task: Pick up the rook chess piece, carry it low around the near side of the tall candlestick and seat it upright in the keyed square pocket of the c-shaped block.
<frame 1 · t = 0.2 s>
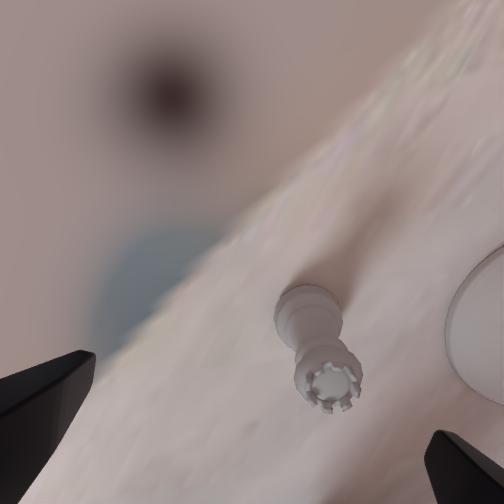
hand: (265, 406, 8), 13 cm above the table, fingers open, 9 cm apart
rook chess piece: (305, 311, 22), on the table
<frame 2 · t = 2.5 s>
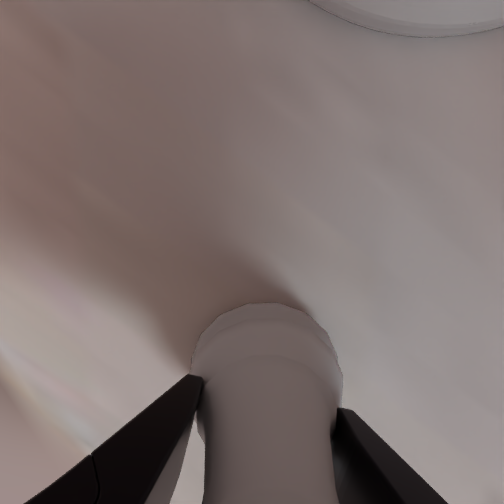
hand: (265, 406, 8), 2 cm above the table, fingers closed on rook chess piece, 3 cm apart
rook chess piece: (263, 358, 10), on the table, touching gripper
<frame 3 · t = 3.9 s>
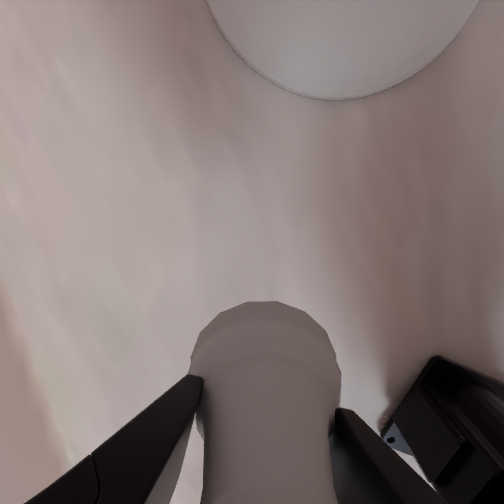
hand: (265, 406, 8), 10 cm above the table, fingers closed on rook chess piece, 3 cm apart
rook chess piece: (262, 356, 11), point 7 cm above the table, touching gripper
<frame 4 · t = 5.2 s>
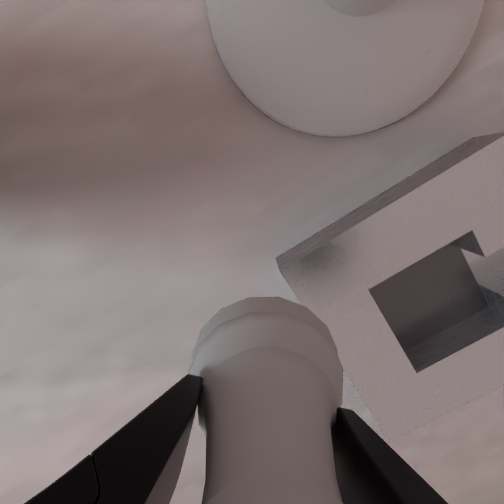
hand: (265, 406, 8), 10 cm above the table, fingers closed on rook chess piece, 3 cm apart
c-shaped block: (418, 288, 19), on the table
rook chess piece: (264, 352, 11), point 8 cm above the table, touching gripper
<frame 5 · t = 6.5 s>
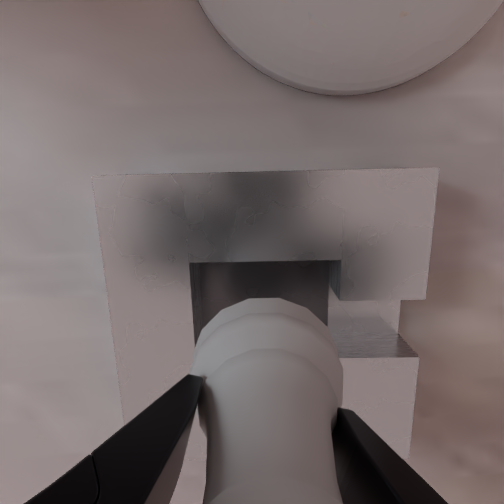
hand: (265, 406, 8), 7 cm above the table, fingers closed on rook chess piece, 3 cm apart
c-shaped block: (264, 306, 15), on the table
rook chess piece: (264, 353, 11), point 4 cm above the table, touching gripper
when the fingers open (3 cm above the table, at t = 7.7 s): rook chess piece stays where it is, resting on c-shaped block.
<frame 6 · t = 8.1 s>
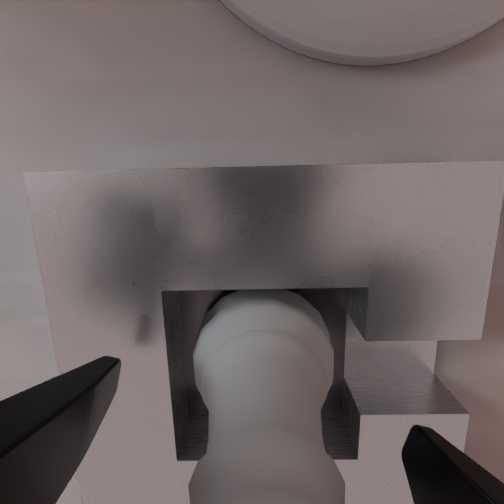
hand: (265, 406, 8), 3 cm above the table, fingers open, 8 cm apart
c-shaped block: (263, 339, 12), on the table
rook chess piece: (262, 338, 11), resting on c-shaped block
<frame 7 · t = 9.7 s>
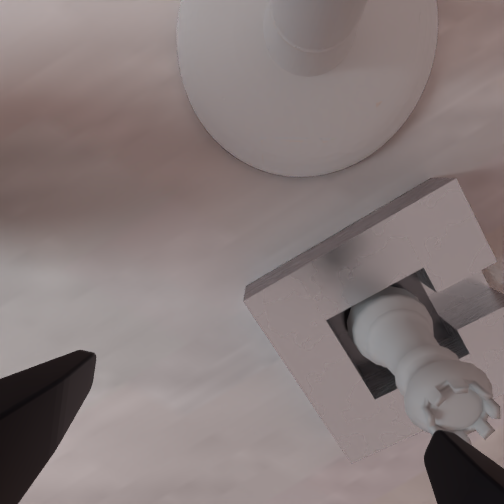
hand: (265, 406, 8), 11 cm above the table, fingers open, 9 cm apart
candlestick: (302, 50, 17), on the table
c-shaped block: (382, 318, 20), on the table
rook chess piece: (381, 317, 19), resting on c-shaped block
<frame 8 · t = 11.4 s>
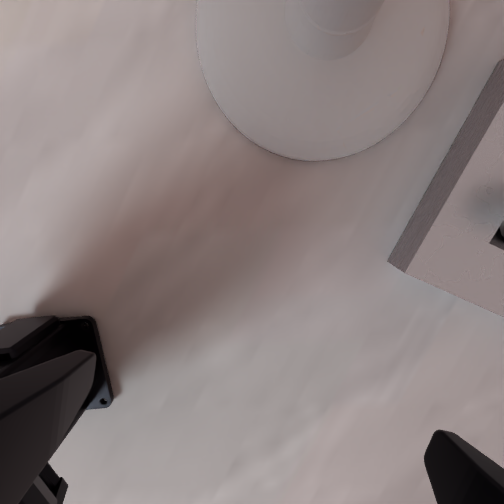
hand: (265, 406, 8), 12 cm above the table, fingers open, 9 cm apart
candlestick: (318, 36, 17), on the table
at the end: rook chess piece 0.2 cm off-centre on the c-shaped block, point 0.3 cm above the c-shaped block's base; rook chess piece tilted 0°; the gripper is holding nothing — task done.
